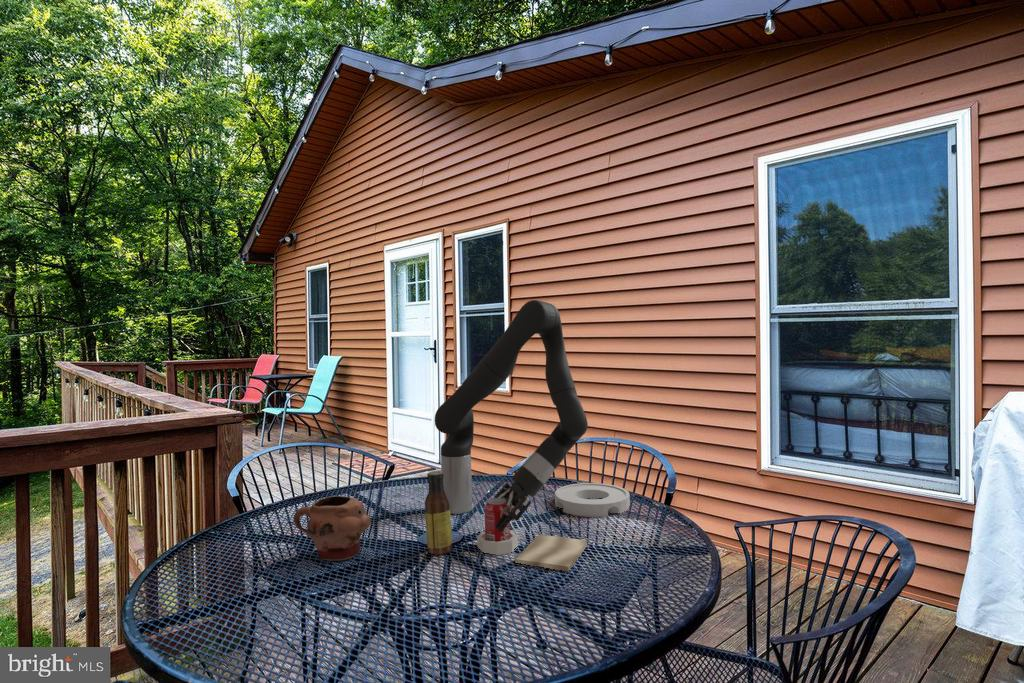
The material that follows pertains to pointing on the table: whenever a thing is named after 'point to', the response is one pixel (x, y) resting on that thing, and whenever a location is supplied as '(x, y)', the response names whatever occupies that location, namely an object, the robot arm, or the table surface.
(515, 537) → the can holder
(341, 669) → the table surface
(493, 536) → the beverage can
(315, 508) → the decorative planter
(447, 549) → the sauce bottle
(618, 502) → the ashtray
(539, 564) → the birch board
